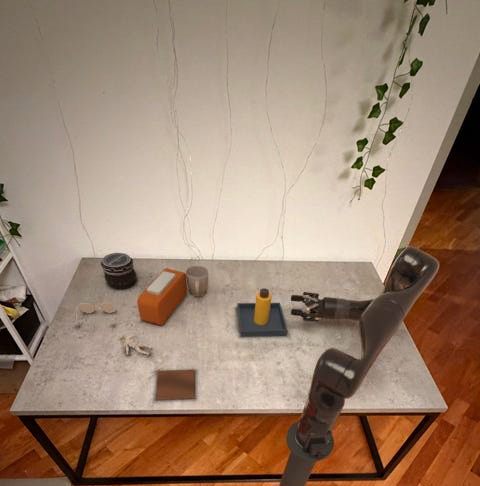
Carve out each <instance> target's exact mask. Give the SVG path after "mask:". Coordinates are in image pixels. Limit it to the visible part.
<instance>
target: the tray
mask: <svg viewBox="0 0 480 486" xmlns="http://www.w3.org/2000/svg"><path fill="white" fill-rule="evenodd" d="M255 304H256V302H237V304H236V310H237V311H236V312H237V319H238V325H239V332H240V337H241V338H244V337H245V338H246V337H251V338H252V337H287V334H288V328H287V324H286V319H285V317H284V312H283V309H282V305H281V302H271V305H270V312H269V319H268V323H267V324H265V325H258V324H256V323H255V322H254V314H255Z"/></svg>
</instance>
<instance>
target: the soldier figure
mask: <svg viewBox="0 0 480 486" xmlns="http://www.w3.org/2000/svg"><path fill="white" fill-rule="evenodd" d="M137 335H138V334H137V333H134V334H132V335H127V336H125V334H121V335H119V337H118V339H119V340H120V341H123V345H124V347H125V350H126V355H127V356H128V355H130V354H129V351H130V348H132V349H134V350H135V351H136V352H137V353H138V354H141V355H143V354H144V355H146V356H147V357H148V356H150V355H151V354H150V352H147V351H144V350H142V349H141V348H149V350H153V347H152V346H150V345H148V344H146V343H144V342H139V341H136V340H135V339H134V338H135V337H137Z"/></svg>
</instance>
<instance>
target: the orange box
mask: <svg viewBox="0 0 480 486" xmlns="http://www.w3.org/2000/svg"><path fill="white" fill-rule="evenodd" d="M187 294H188V283H187V278H186V272H184V271H179V270H176V269H172V268H167V267H166V268H164V269H163V270H162V271H161V272H160V273H159V274H158V275H157V276H156V277H155V278H154V280H152V282H151V283H150V284H149V285H148V286H147V287H146V288H145V289H144V290H143V291H142V292H141V294H139V295H138V297H137V300H136V303H137V304H136V305H137V309H138V313H139V317H140V320H141V321H143V322H147V323H151V324H154V325H157V326H163V325H164V324H165V323H166V322H167V321H168V320H169V318H170V317H171V316H172V314H173V313H174V312H175V310H176V309H177V308H178V306H179V305H180V304H181V302H182V301H183V300H184V299H185V297H186V296H187Z"/></svg>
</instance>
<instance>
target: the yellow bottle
mask: <svg viewBox="0 0 480 486" xmlns="http://www.w3.org/2000/svg"><path fill="white" fill-rule="evenodd" d="M272 298H273V295H272V294H271V293H270V290H269V289H268V288H260V290H259V292H257V293H256V296H255V303H256V304H255V314H254V322H255V323H256V324H258V325H265V324H267V323H268V319H269V312H270V305H271V303H272Z"/></svg>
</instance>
